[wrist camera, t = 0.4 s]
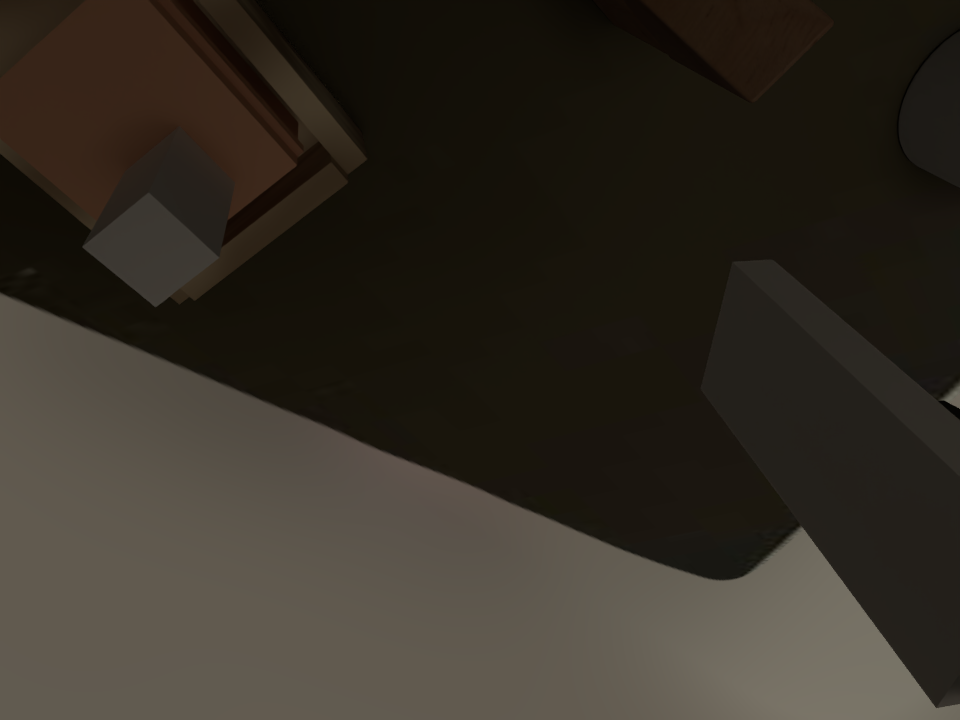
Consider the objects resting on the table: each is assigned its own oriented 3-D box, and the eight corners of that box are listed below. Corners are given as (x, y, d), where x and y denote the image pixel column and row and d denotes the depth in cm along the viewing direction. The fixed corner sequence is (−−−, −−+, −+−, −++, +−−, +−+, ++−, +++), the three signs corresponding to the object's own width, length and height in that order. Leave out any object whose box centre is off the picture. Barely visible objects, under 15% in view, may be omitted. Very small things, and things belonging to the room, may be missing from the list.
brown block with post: (11, 75, 32) (-132, 183, 21) (155, -56, 30) (76, -7, 20) (172, 223, 37) (121, 369, 27) (303, 118, 35) (303, 229, 25)
